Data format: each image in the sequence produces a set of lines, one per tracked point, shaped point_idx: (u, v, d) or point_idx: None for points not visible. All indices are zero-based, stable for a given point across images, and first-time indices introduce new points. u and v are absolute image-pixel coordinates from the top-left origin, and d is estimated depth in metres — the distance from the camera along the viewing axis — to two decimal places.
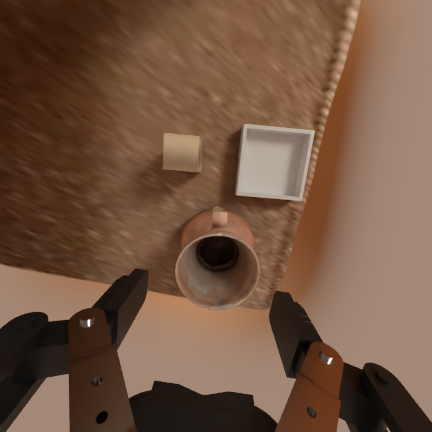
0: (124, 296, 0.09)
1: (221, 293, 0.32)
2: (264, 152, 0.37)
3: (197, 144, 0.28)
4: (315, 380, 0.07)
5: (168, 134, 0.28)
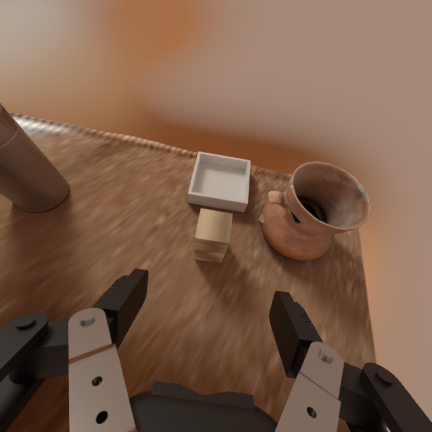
0: (124, 296, 0.09)
1: (349, 201, 0.33)
2: (210, 187, 0.44)
3: (207, 210, 0.31)
4: (315, 380, 0.07)
5: (196, 233, 0.29)
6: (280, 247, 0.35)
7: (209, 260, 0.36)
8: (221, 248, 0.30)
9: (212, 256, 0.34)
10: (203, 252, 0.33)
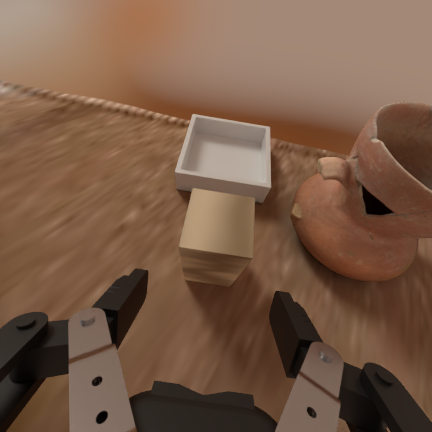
0: (124, 296, 0.09)
1: None
2: (210, 165, 0.29)
3: (206, 191, 0.16)
4: (315, 380, 0.07)
5: (183, 238, 0.14)
6: (333, 259, 0.20)
7: (210, 282, 0.21)
8: (234, 266, 0.15)
9: (216, 277, 0.19)
10: (200, 271, 0.18)
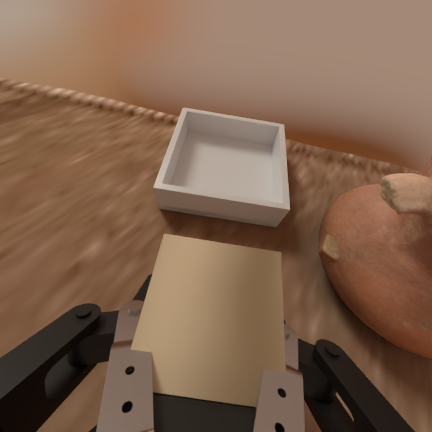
0: None
1: None
2: (205, 175, 0.22)
3: (190, 241, 0.08)
4: None
5: None
6: (394, 330, 0.13)
7: None
8: None
9: None
10: None
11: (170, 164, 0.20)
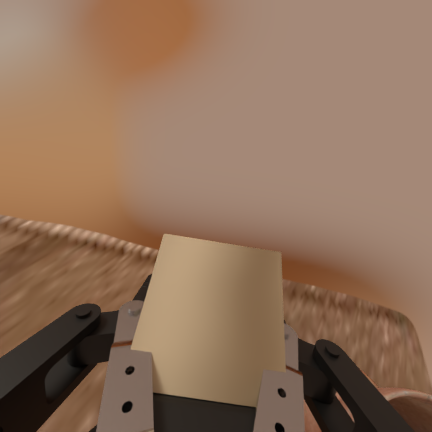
0: None
1: None
2: None
3: (189, 241, 0.08)
4: None
5: None
6: None
7: None
8: None
9: None
10: None
11: None
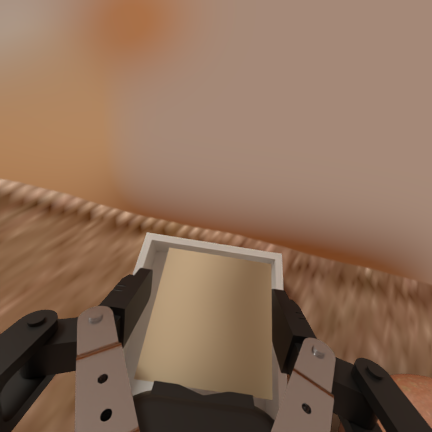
0: (130, 295, 0.09)
1: None
2: None
3: (191, 254, 0.09)
4: (309, 376, 0.07)
5: (143, 357, 0.07)
6: None
7: None
8: None
9: None
10: None
11: None
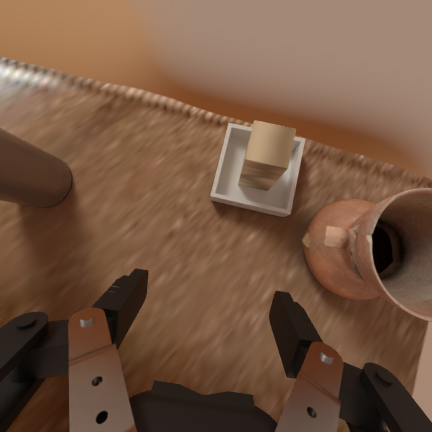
0: (124, 296, 0.09)
1: None
2: None
3: (263, 123, 0.24)
4: (315, 380, 0.07)
5: (247, 154, 0.23)
6: (324, 283, 0.28)
7: (255, 186, 0.32)
8: (274, 174, 0.25)
9: (260, 182, 0.30)
10: (251, 177, 0.28)
11: (219, 176, 0.31)
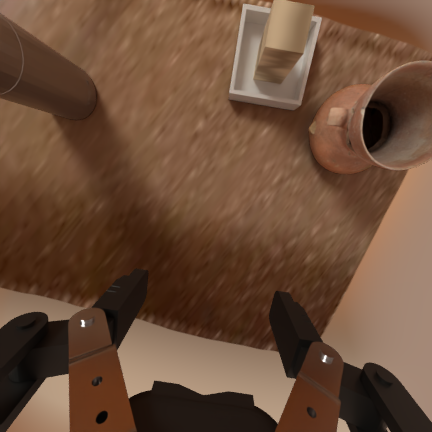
0: (124, 296, 0.09)
1: (431, 120, 0.27)
2: None
3: (283, 1, 0.24)
4: (315, 380, 0.07)
5: (267, 40, 0.25)
6: (323, 162, 0.35)
7: (269, 80, 0.34)
8: (290, 61, 0.28)
9: (275, 74, 0.32)
10: (267, 69, 0.31)
11: (236, 71, 0.33)
